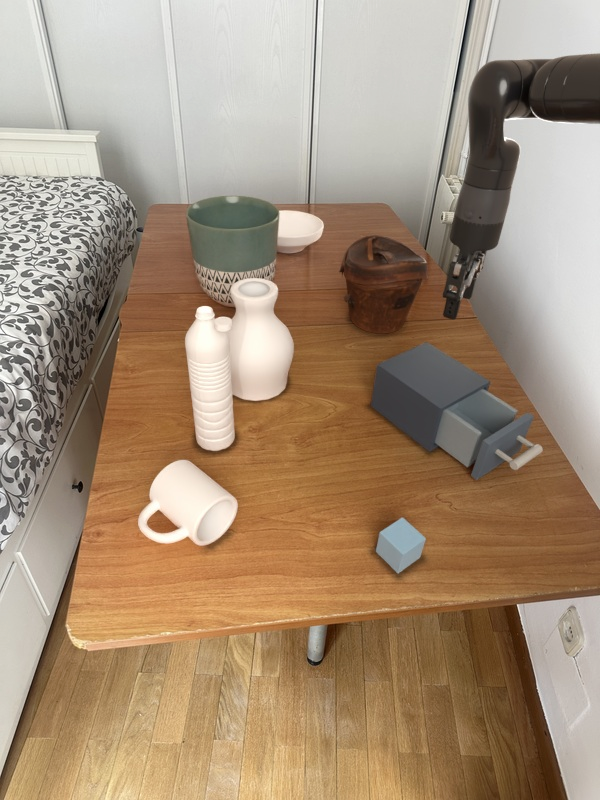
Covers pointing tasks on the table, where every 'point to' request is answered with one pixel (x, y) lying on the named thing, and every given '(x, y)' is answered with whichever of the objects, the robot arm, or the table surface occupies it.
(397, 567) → the block
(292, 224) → the bowl
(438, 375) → the cabinet
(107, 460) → the table surface
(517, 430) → the drawer
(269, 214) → the planter
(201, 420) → the water bottle
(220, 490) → the mug
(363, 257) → the case
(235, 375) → the vase
